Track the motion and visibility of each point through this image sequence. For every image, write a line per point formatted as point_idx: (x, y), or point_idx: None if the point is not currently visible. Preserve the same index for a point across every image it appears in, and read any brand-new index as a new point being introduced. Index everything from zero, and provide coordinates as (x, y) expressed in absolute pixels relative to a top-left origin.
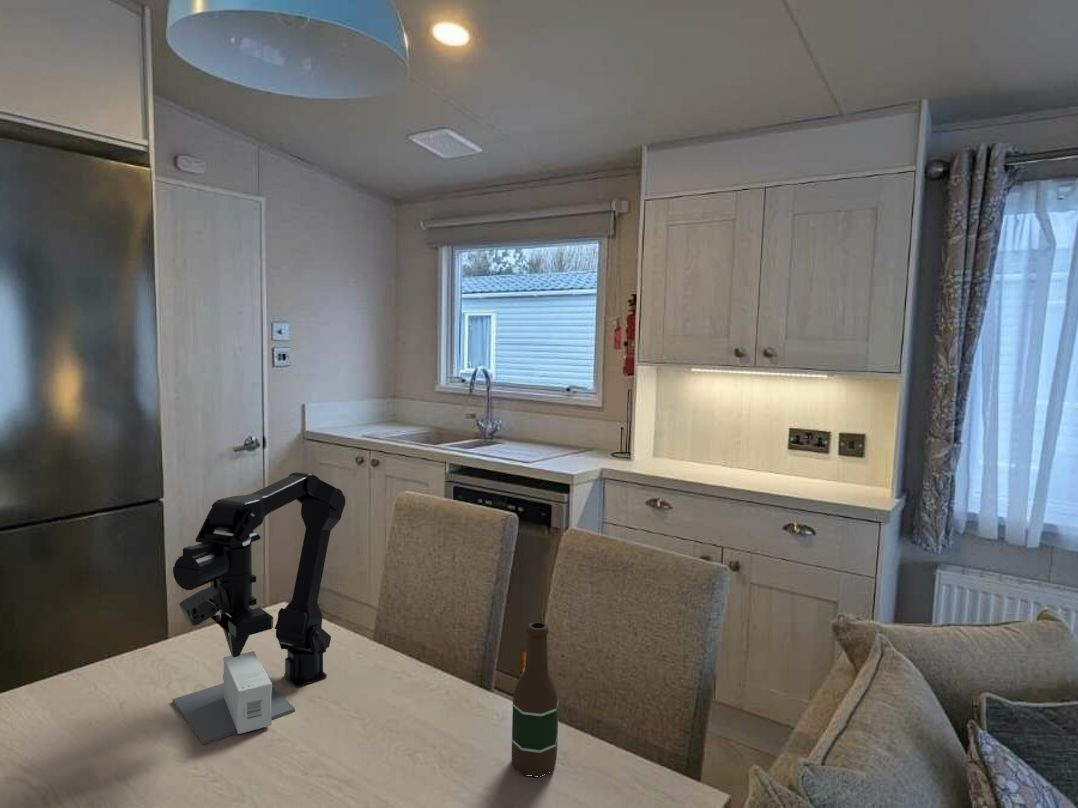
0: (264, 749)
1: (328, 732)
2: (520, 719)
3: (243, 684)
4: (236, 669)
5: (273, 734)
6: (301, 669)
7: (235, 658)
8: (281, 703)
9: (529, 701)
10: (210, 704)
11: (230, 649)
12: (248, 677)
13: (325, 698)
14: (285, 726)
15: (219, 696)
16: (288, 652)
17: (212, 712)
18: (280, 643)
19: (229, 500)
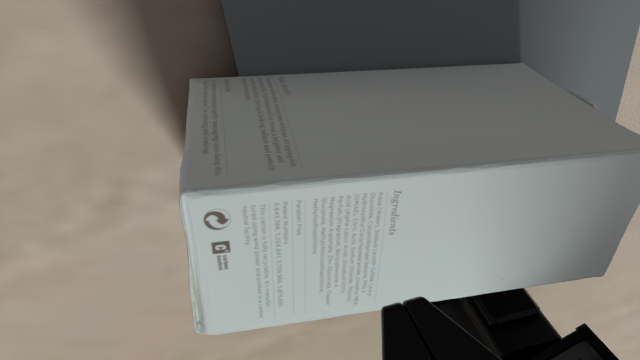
0: (57, 151)
1: (99, 326)
2: None
3: (255, 224)
4: (471, 200)
5: (160, 188)
6: (460, 324)
7: (597, 204)
8: None
9: None
10: (508, 4)
11: (440, 349)
12: (332, 249)
13: (312, 330)
14: None
15: (543, 47)
16: (545, 335)
17: (438, 2)
18: (596, 345)
19: None
